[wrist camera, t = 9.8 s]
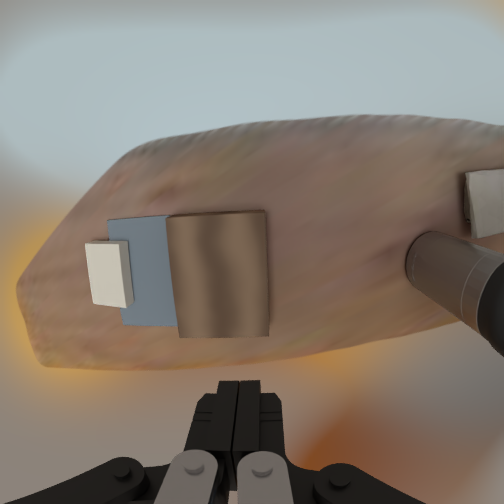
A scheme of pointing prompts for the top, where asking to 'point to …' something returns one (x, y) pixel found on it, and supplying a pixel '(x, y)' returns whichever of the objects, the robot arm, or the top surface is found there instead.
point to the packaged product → (484, 202)
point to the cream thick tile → (109, 273)
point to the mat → (147, 270)
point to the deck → (219, 273)
